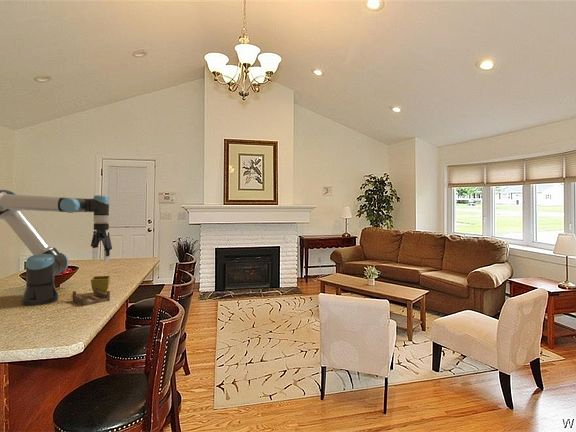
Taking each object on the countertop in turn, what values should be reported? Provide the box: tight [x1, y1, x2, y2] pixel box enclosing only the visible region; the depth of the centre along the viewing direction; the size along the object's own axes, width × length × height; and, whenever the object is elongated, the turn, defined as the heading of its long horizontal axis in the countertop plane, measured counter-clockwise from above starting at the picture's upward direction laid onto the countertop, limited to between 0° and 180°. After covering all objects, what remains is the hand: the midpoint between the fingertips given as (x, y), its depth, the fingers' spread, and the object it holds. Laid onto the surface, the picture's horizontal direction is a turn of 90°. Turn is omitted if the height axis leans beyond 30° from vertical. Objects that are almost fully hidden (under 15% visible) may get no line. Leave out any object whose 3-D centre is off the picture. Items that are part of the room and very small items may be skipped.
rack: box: [72, 287, 111, 307], centre depth 179 cm, size 13×13×5 cm
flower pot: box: [90, 275, 111, 295], centre depth 194 cm, size 9×9×9 cm
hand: (101, 260), depth 194 cm, fingers open, 13 cm apart
